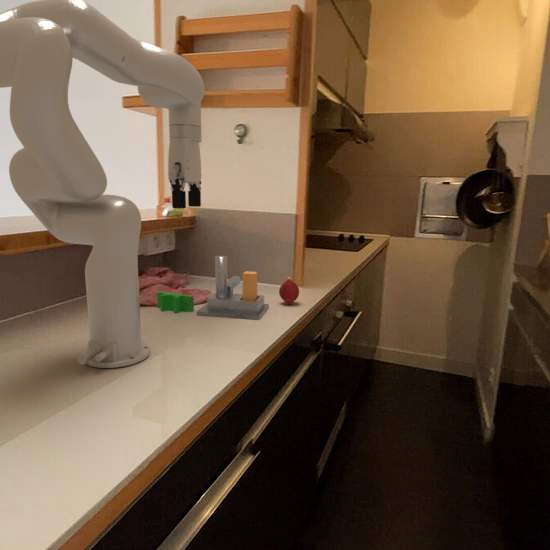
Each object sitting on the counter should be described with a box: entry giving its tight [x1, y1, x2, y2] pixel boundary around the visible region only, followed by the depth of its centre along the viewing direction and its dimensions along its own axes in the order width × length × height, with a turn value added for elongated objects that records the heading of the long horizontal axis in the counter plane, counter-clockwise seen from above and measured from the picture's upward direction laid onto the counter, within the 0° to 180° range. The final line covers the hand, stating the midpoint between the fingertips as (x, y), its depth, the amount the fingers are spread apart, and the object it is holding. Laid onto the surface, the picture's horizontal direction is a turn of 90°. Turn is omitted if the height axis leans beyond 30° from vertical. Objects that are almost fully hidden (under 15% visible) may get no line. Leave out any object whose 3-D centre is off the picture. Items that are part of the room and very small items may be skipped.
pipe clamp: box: [156, 291, 195, 314], centre depth 117 cm, size 11×4×5 cm, turn 67°
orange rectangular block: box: [242, 270, 258, 301], centre depth 116 cm, size 3×3×10 cm
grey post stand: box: [195, 255, 270, 321], centre depth 121 cm, size 22×17×15 cm
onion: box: [278, 276, 300, 305], centre depth 125 cm, size 6×6×8 cm
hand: (187, 207), depth 106 cm, fingers open, 9 cm apart
